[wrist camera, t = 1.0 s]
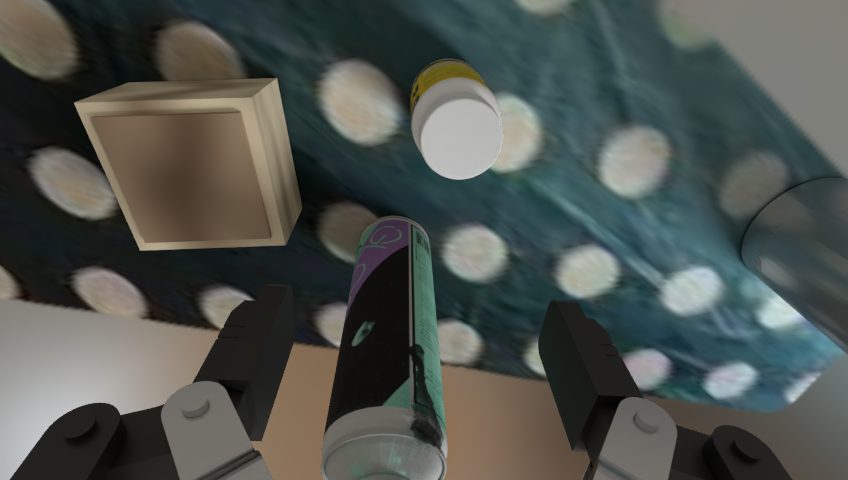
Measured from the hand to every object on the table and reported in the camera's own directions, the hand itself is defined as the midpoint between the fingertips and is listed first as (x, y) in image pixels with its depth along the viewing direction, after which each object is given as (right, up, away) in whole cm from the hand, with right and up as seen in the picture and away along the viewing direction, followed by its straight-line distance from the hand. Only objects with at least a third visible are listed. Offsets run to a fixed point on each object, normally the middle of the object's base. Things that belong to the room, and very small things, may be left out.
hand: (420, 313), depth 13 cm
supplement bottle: (+2, +12, +14) cm, 18 cm away
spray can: (-2, +2, +20) cm, 20 cm away
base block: (-13, +8, +15) cm, 22 cm away
